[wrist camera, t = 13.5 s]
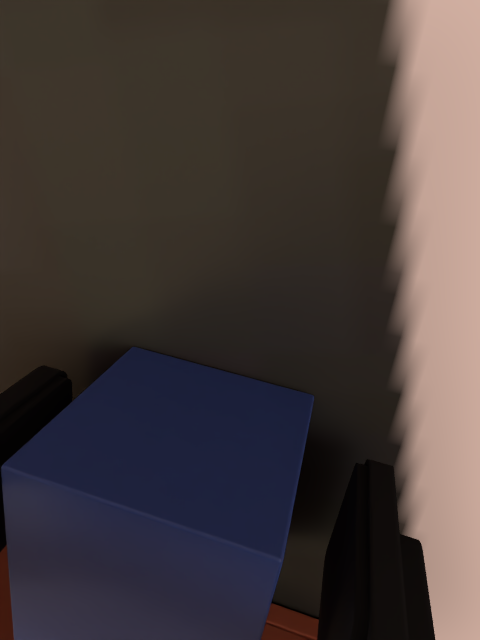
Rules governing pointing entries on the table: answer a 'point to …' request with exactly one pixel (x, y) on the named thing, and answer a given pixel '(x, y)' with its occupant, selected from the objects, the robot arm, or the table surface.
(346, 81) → the table surface
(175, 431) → the blue block
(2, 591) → the terracotta bin
